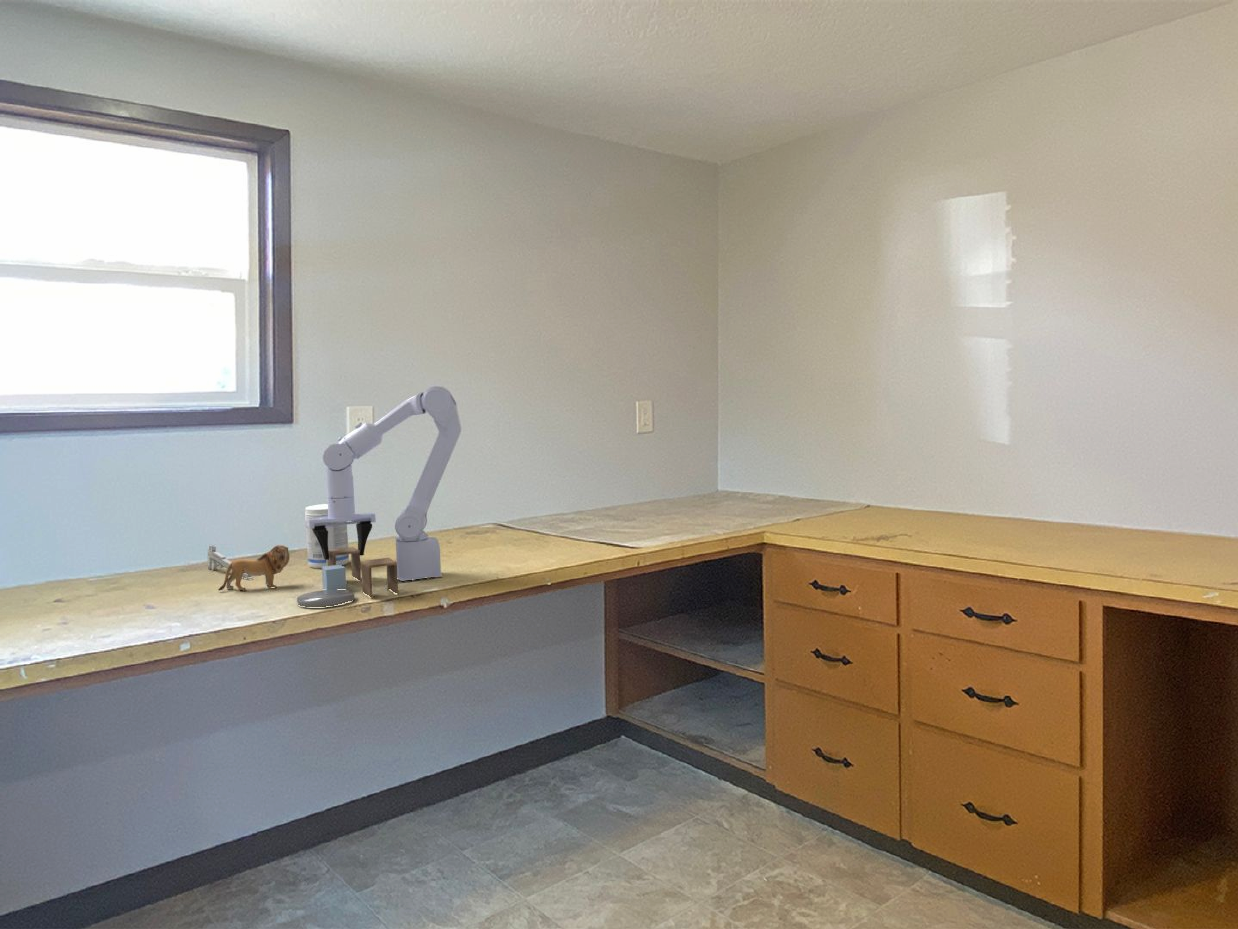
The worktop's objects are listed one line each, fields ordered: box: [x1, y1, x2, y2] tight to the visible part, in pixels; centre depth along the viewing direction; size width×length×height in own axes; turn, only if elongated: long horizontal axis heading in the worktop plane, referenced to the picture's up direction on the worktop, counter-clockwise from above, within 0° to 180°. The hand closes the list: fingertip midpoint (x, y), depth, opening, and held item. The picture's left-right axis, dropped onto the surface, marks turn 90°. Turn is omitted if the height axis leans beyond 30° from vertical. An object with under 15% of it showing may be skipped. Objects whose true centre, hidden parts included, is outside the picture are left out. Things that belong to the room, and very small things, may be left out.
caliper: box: [207, 544, 254, 580], centre depth 200 cm, size 20×1×6 cm, turn 51°
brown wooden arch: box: [328, 546, 362, 581], centre depth 191 cm, size 6×6×7 cm
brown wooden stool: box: [360, 557, 399, 597], centre depth 177 cm, size 6×6×7 cm
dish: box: [296, 589, 355, 607], centre depth 172 cm, size 11×11×1 cm
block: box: [321, 565, 347, 590], centre depth 182 cm, size 4×4×5 cm
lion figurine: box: [218, 544, 290, 591], centre depth 185 cm, size 15×5×9 cm, turn 120°
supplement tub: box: [304, 503, 350, 569], centre depth 208 cm, size 10×10×15 cm
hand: (343, 556), depth 191 cm, fingers open, 7 cm apart
